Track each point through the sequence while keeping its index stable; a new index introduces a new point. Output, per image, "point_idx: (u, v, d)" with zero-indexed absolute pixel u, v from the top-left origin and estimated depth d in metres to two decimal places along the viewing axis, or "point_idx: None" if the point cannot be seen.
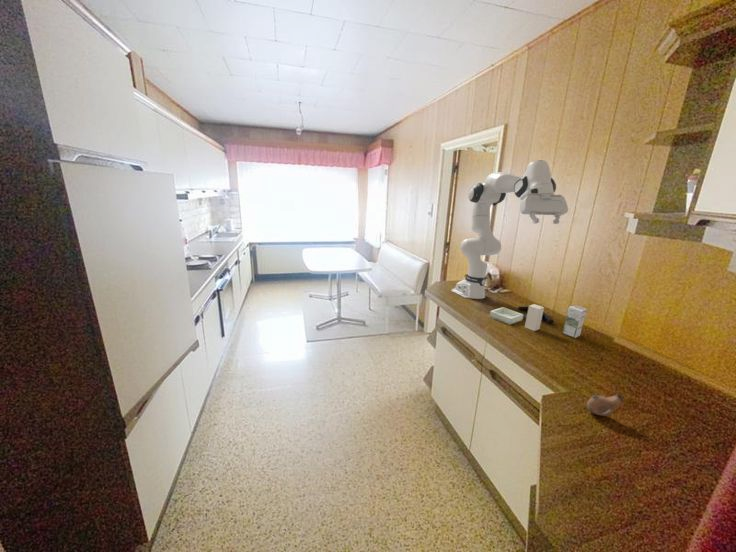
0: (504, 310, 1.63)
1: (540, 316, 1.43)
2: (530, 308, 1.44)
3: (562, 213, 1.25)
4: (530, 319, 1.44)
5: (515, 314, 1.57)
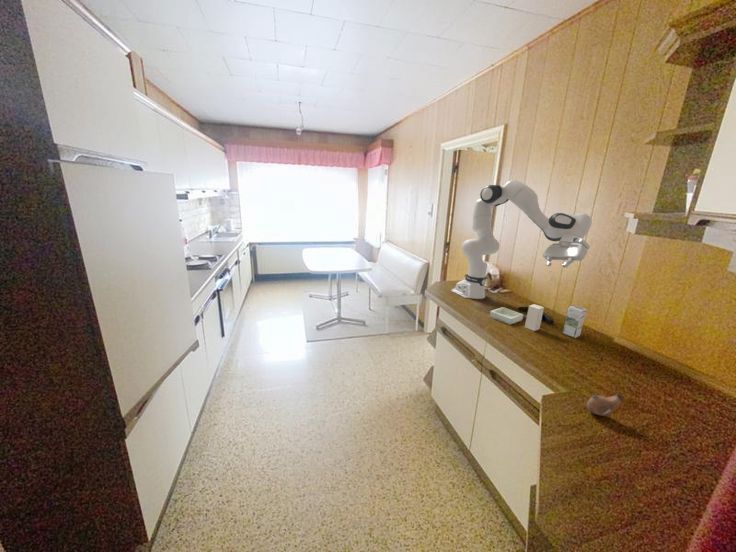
0: (504, 310, 1.63)
1: (540, 316, 1.43)
2: (530, 308, 1.44)
3: None
4: (530, 319, 1.44)
5: (515, 314, 1.57)
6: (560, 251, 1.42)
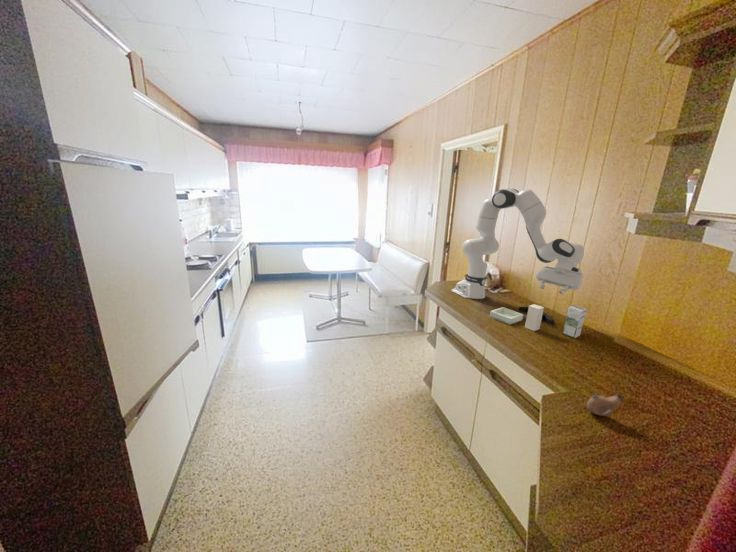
0: (504, 310, 1.63)
1: (540, 316, 1.43)
2: (530, 308, 1.44)
3: (539, 279, 1.55)
4: (530, 319, 1.44)
5: (515, 314, 1.57)
6: (556, 276, 1.49)
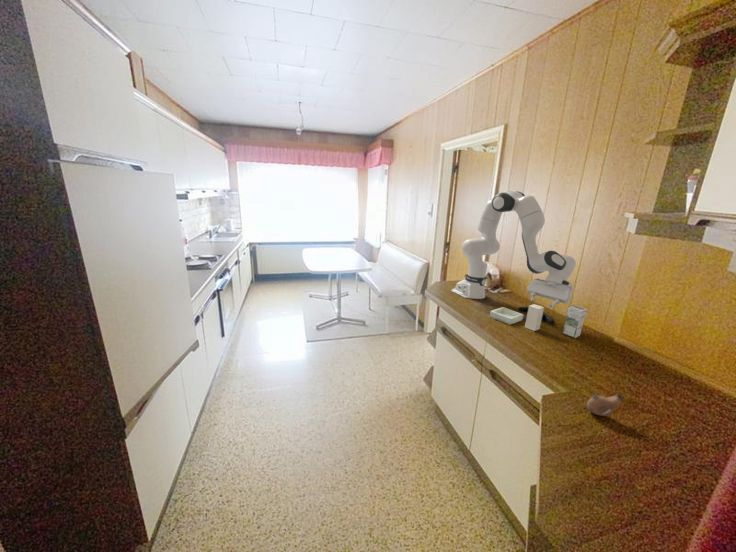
0: (504, 310, 1.63)
1: (540, 316, 1.43)
2: (530, 308, 1.44)
3: (530, 292, 1.53)
4: (530, 319, 1.44)
5: (515, 314, 1.57)
6: (547, 289, 1.46)
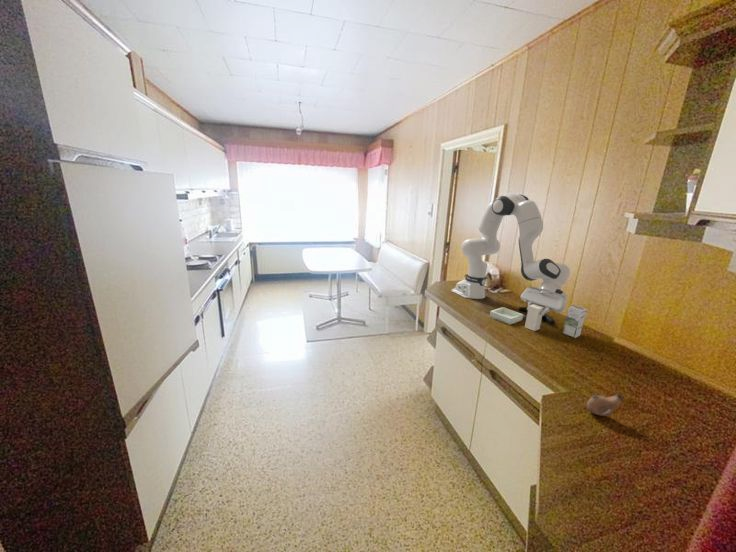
0: (504, 310, 1.63)
1: (540, 316, 1.43)
2: (530, 308, 1.44)
3: (524, 300, 1.51)
4: (530, 319, 1.44)
5: (515, 314, 1.57)
6: (540, 298, 1.45)
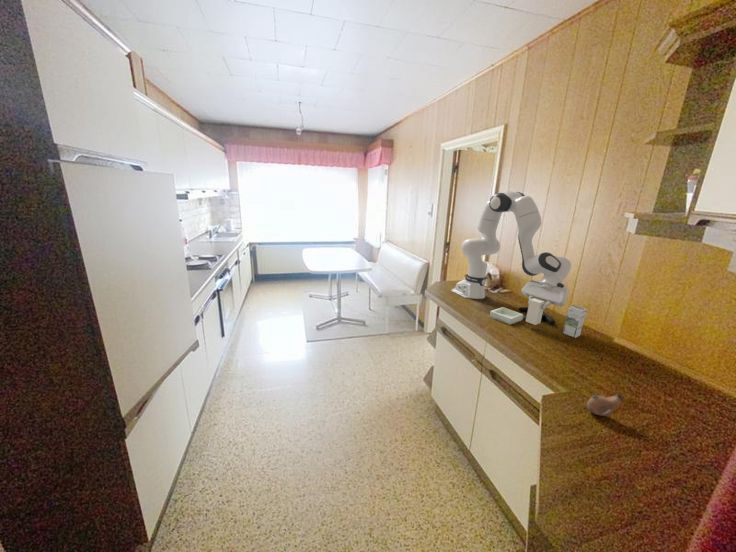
0: (504, 310, 1.63)
1: (541, 310, 1.42)
2: (531, 302, 1.43)
3: (525, 294, 1.50)
4: (531, 313, 1.43)
5: (515, 314, 1.57)
6: (541, 292, 1.44)
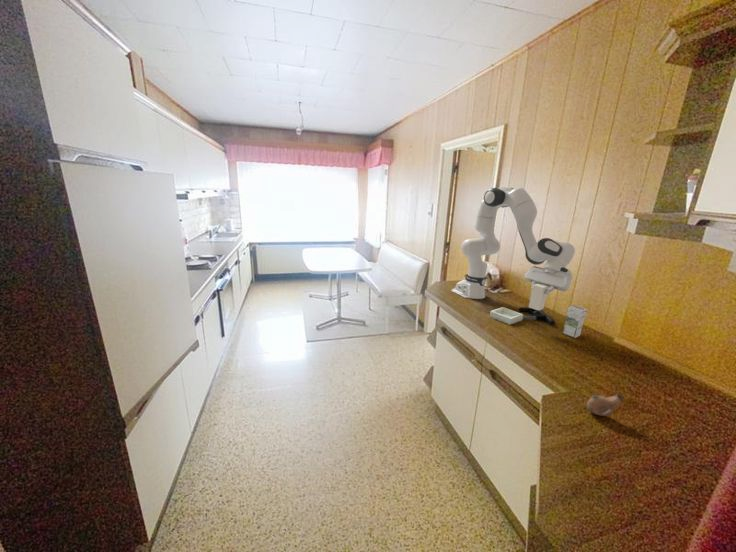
0: (504, 310, 1.63)
1: (544, 295, 1.40)
2: (534, 287, 1.40)
3: (527, 280, 1.48)
4: (534, 298, 1.41)
5: (515, 314, 1.57)
6: (545, 277, 1.41)
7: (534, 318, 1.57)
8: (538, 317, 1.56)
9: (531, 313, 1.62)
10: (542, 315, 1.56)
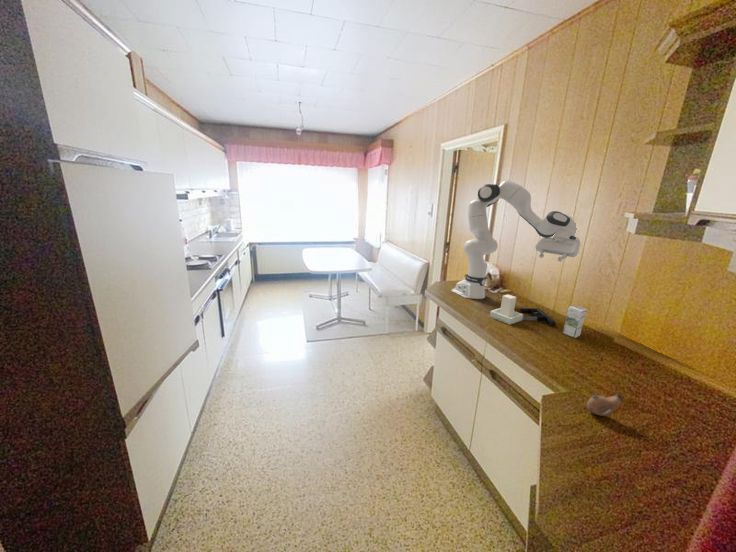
0: None
1: (513, 305, 1.53)
2: (503, 298, 1.54)
3: (538, 250, 1.61)
4: (504, 308, 1.54)
5: (515, 314, 1.57)
6: (555, 245, 1.54)
7: (535, 319, 1.55)
8: (539, 318, 1.54)
9: (532, 314, 1.61)
10: (543, 316, 1.55)
